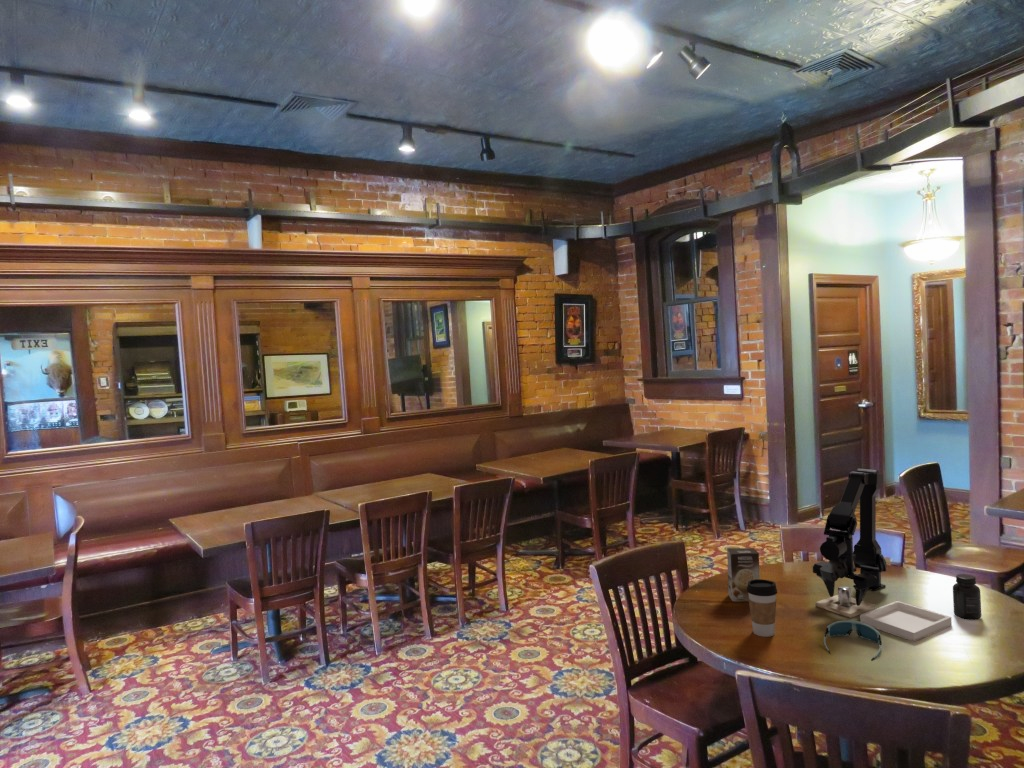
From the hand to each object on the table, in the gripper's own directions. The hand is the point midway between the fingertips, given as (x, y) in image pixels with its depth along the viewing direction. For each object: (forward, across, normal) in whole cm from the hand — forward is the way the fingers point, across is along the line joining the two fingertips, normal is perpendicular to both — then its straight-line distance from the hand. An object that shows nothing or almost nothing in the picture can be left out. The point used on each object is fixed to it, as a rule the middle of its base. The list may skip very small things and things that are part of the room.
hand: (844, 600), depth 214 cm
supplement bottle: (+2, +25, +21) cm, 33 cm away
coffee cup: (+2, -2, -34) cm, 34 cm away
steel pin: (+2, 0, 0) cm, 2 cm away
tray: (+2, +18, +2) cm, 18 cm away
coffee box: (+2, -24, -18) cm, 30 cm away
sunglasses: (+3, +18, -22) cm, 29 cm away
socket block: (+2, 0, 0) cm, 2 cm away
